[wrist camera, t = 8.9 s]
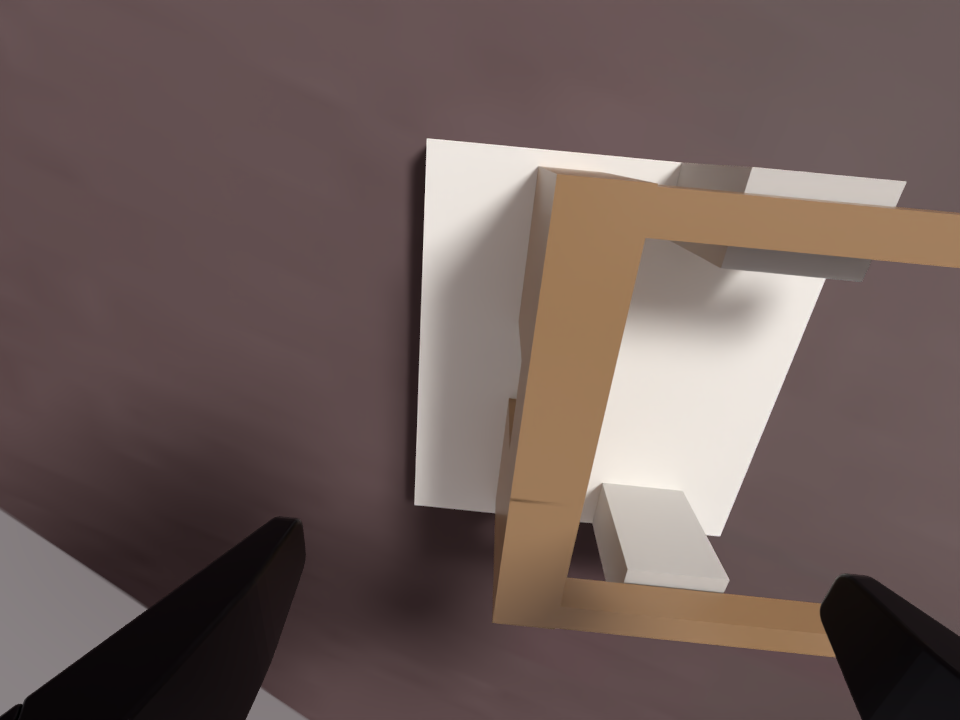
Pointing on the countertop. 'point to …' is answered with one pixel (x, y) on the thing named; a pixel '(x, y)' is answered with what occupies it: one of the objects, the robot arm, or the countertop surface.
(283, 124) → the countertop surface
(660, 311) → the display stand
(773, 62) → the countertop surface
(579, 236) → the wooden c-shaped bracket
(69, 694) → the robot arm
